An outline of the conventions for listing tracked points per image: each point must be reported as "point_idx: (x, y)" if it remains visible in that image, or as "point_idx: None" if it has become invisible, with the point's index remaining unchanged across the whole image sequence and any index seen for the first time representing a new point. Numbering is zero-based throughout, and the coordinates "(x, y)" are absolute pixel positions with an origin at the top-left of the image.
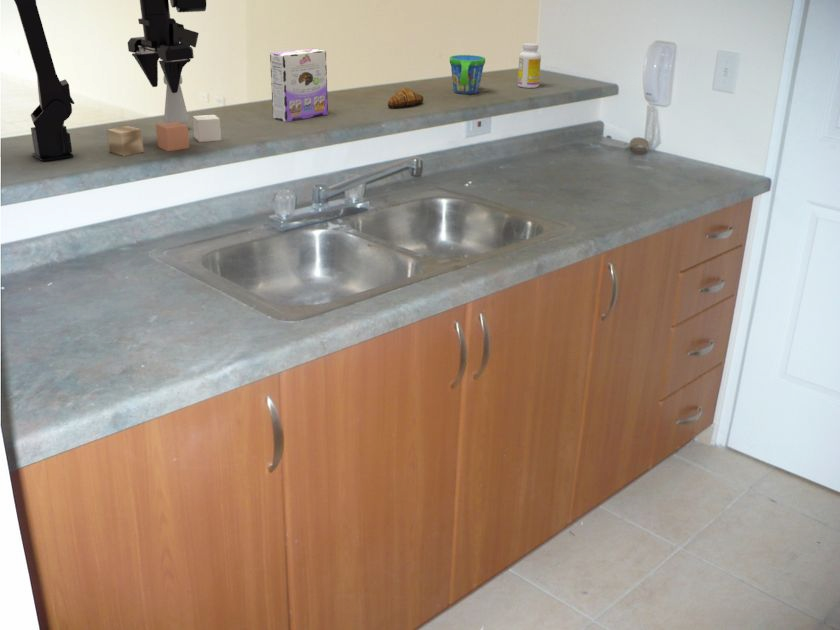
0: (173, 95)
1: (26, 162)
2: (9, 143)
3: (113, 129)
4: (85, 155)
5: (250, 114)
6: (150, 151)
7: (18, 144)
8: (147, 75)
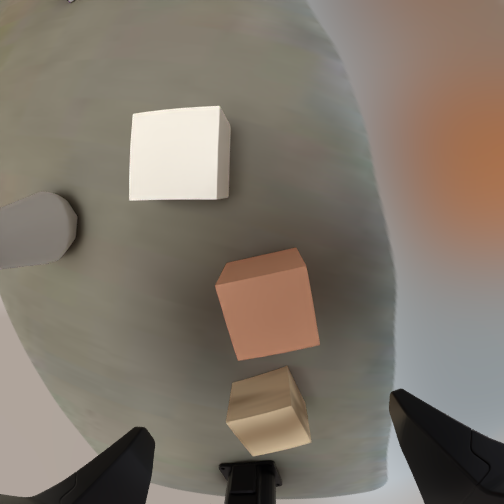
0: (4, 249)
1: None
2: None
3: (259, 448)
4: None
5: (21, 49)
6: None
7: None
8: (145, 499)
